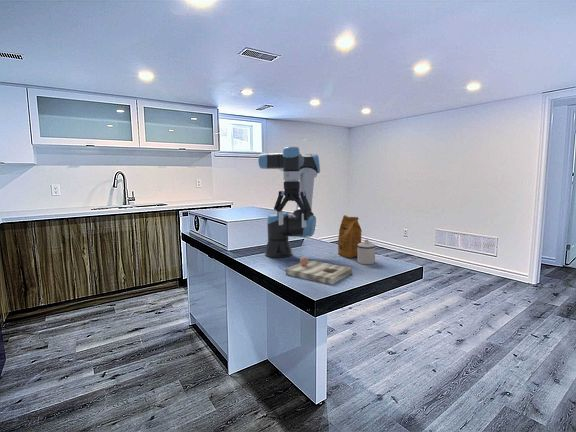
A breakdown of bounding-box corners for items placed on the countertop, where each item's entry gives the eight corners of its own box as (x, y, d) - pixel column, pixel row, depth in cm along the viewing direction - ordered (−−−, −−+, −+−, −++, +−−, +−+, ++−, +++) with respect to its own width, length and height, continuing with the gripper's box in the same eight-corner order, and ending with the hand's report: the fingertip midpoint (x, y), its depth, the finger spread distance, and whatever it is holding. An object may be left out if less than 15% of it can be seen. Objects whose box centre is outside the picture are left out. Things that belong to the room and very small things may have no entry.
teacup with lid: (379, 263, 159) (379, 240, 157) (363, 265, 155) (364, 242, 154) (365, 257, 170) (365, 236, 168) (350, 259, 166) (350, 237, 165)
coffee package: (349, 251, 183) (349, 213, 180) (363, 256, 172) (364, 216, 169) (335, 254, 178) (335, 215, 175) (349, 259, 167) (349, 217, 164)
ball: (298, 265, 148) (298, 257, 148) (302, 263, 151) (302, 255, 151) (305, 267, 146) (305, 258, 145) (310, 265, 149) (309, 256, 148)
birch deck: (285, 274, 144) (285, 268, 144) (307, 264, 158) (307, 259, 158) (332, 284, 130) (332, 278, 129) (351, 273, 144) (351, 267, 144)
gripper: (265, 181, 152) (267, 224, 155) (309, 181, 137) (310, 229, 140) (275, 180, 158) (276, 222, 161) (318, 180, 143) (318, 227, 146)
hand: (292, 226), depth 150 cm, fingers open, 13 cm apart
